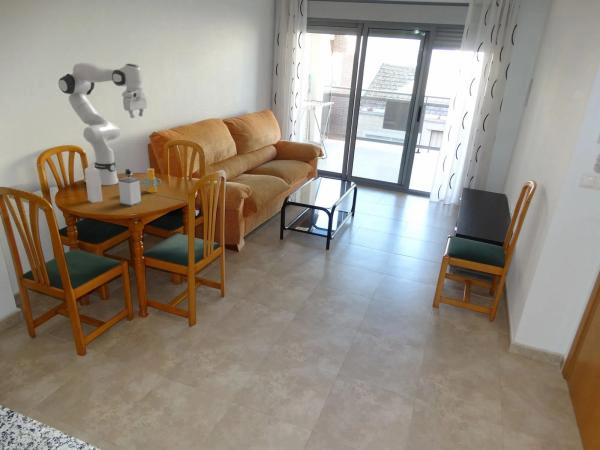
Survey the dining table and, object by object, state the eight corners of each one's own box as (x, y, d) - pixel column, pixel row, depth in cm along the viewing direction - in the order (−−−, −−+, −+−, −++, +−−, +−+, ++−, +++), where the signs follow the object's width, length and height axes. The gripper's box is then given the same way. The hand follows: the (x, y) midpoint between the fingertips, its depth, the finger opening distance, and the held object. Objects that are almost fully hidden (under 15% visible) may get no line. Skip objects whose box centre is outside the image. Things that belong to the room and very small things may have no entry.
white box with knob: (120, 204, 243) (118, 179, 238) (135, 198, 254) (133, 175, 248) (131, 206, 241) (129, 181, 235) (145, 201, 251) (143, 177, 246)
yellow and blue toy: (154, 195, 262) (153, 172, 257) (139, 193, 264) (137, 170, 259) (164, 190, 274) (163, 168, 268) (149, 188, 275) (148, 166, 270)
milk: (98, 198, 249) (94, 162, 241) (102, 201, 246) (98, 164, 238) (87, 200, 245) (83, 164, 237) (92, 203, 241) (87, 166, 233)
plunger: (123, 201, 243) (120, 169, 236) (130, 199, 248) (127, 167, 241) (131, 203, 242) (128, 171, 235) (137, 200, 246) (135, 169, 239)
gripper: (139, 92, 255) (140, 115, 260) (120, 93, 236) (122, 118, 241) (148, 92, 254) (150, 115, 259) (130, 94, 235) (132, 119, 240)
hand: (136, 117), depth 250 cm, fingers open, 8 cm apart
